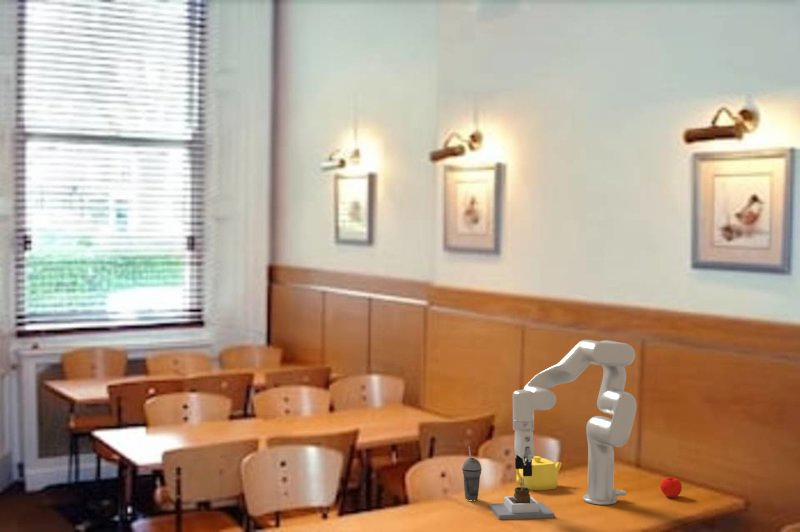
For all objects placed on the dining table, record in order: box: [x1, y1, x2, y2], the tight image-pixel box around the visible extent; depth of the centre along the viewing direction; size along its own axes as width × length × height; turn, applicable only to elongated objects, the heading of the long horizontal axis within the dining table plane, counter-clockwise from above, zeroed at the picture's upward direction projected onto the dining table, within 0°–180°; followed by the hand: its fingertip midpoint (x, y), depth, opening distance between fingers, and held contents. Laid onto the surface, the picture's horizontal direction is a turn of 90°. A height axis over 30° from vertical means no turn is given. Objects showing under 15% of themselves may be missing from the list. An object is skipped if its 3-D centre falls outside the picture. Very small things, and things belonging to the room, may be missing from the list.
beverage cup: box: [461, 445, 482, 502], centre depth 361 cm, size 7×7×20 cm
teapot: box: [515, 455, 563, 491], centre depth 382 cm, size 20×12×12 cm, turn 109°
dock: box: [488, 495, 555, 520], centre depth 346 cm, size 20×14×4 cm
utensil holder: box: [513, 476, 531, 504], centre depth 346 cm, size 6×6×12 cm
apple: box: [659, 477, 683, 499], centre depth 370 cm, size 8×8×7 cm
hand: (523, 472), depth 346 cm, fingers open, 9 cm apart
